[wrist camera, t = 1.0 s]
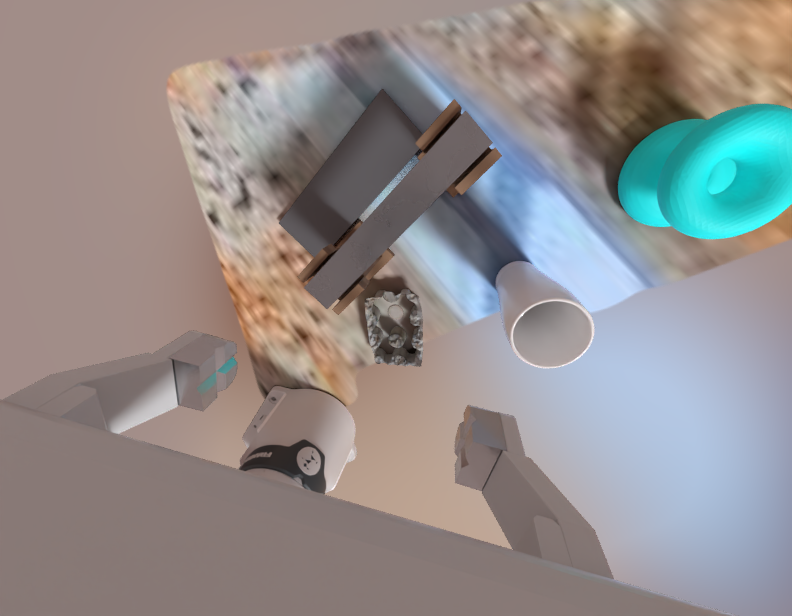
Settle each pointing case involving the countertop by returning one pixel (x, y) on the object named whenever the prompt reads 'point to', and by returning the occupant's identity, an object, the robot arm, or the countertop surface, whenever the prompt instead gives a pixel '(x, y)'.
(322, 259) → the post
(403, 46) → the countertop surface
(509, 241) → the countertop surface
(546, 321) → the drinking glass
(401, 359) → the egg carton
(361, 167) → the grey flat bar
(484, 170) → the post
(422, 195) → the rail
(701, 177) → the donuts
